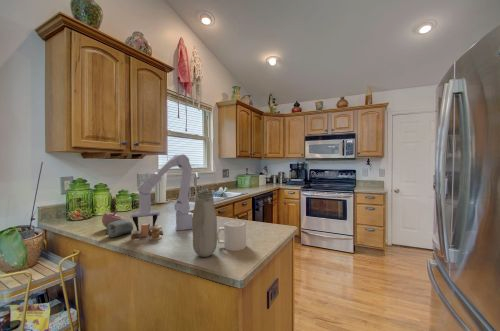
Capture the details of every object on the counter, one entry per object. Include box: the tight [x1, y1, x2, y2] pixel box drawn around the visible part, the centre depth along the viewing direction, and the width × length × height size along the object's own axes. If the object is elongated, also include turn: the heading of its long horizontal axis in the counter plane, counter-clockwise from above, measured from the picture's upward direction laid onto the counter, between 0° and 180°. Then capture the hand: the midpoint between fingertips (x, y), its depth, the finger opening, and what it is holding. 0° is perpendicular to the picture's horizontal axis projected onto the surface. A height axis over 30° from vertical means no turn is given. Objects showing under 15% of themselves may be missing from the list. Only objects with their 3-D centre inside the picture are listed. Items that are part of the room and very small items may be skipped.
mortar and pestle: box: [101, 209, 126, 228], centre depth 142 cm, size 12×12×12 cm
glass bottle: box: [192, 188, 218, 258], centre depth 100 cm, size 10×10×28 cm
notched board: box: [131, 227, 164, 239], centre depth 130 cm, size 15×7×2 cm, turn 113°
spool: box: [105, 218, 134, 238], centre depth 130 cm, size 14×10×10 cm
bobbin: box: [149, 224, 163, 241], centre depth 124 cm, size 6×6×6 cm
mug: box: [217, 220, 247, 252], centre depth 110 cm, size 14×10×11 cm
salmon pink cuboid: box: [140, 222, 151, 237], centre depth 129 cm, size 4×4×6 cm
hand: (145, 229), depth 129 cm, fingers open, 7 cm apart
